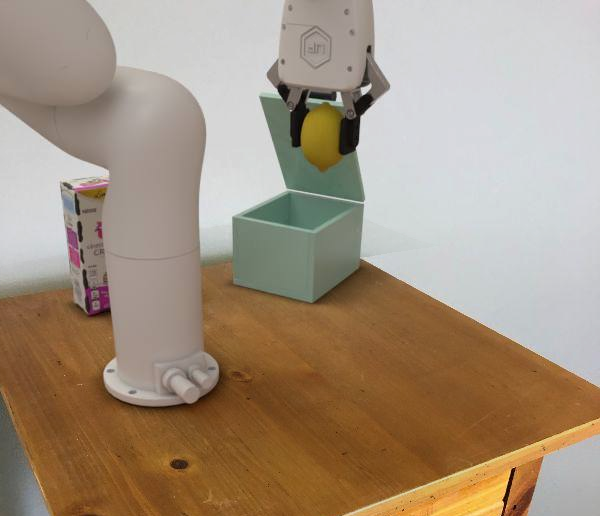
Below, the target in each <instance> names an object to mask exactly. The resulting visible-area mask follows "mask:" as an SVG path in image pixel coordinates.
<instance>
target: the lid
mask: <svg viewBox="0 0 600 516" xmlns="http://www.w3.org/2000/svg"><path fill="white" fill-rule="evenodd" d="M258 97H259V101H260V104H261V108H262V111H263V114H264V118H265V121H266V125H267V127H268V131H269V135H270V138H271V141H272V145H273V147H274V151H275V154H276V157H277V161H278V165H279V168H280V172H281V175H282V178H283V181H284V185H285V188H286V190H290V191H295V192H301V193H307V194H312V195H318V196H323V197H329V198H335V199H340V200H346V201H352V202H357V203H364V202H365V200H366V195H365V189H364V184H363V179H362V174H361V168H360V167H361V166H360V163H359V156H358V151H357V149H356V150H355V151H354V152H352V153H350V154H347V155H344V156H343V158H342V159H341V160H340V162H338V163H337V164H336V165H334V166H332V167H330V168H329V169H328V170H327V171H326V172H324V173H322V172H320V171H319V170H318V168H317V167H315V166H314V165H312V164H310V163H309V162H308V161H307V160H306V158H305V156H304V154H303V152H302V148H301V146H300V147H298V148H294V147H292V138H291V137H290V111H288V110H287V108H286V103H285V102H284V100H283V99H282V97H281V96H280V95H279V93H271V92H264V91H263V92H260V94H259V95H258ZM337 98H338V92H333V91H325V90H316V89H311V92H310V95H309V97H308V100H307V103H306V108H309V110H310V111H311V110H312V109H313V108H315V107H317V106H319V105H321V104H322V103H323V102H329V104H330V105H331V106H333V107H335V108H337V109H338V110H339V111H340V112H341V113H342V115H343V116H344V118H345V110H344V106H343V102H342V101H337Z"/></svg>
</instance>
